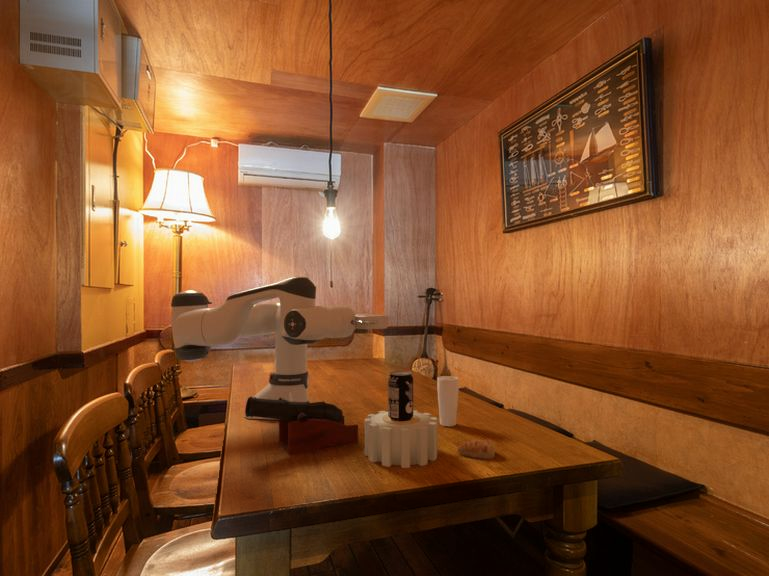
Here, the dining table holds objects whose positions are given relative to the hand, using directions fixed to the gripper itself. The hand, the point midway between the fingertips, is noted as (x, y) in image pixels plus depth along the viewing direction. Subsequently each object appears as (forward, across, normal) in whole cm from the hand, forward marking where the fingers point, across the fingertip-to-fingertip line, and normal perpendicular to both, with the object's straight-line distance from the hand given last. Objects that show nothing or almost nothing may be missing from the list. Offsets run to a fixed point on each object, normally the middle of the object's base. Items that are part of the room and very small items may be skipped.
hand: (376, 319), depth 131 cm
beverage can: (-7, -16, +25) cm, 31 cm away
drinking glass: (+23, -10, +34) cm, 42 cm away
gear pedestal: (-7, -16, +34) cm, 38 cm away
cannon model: (-22, +8, +34) cm, 41 cm away
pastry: (+7, -31, +35) cm, 47 cm away
